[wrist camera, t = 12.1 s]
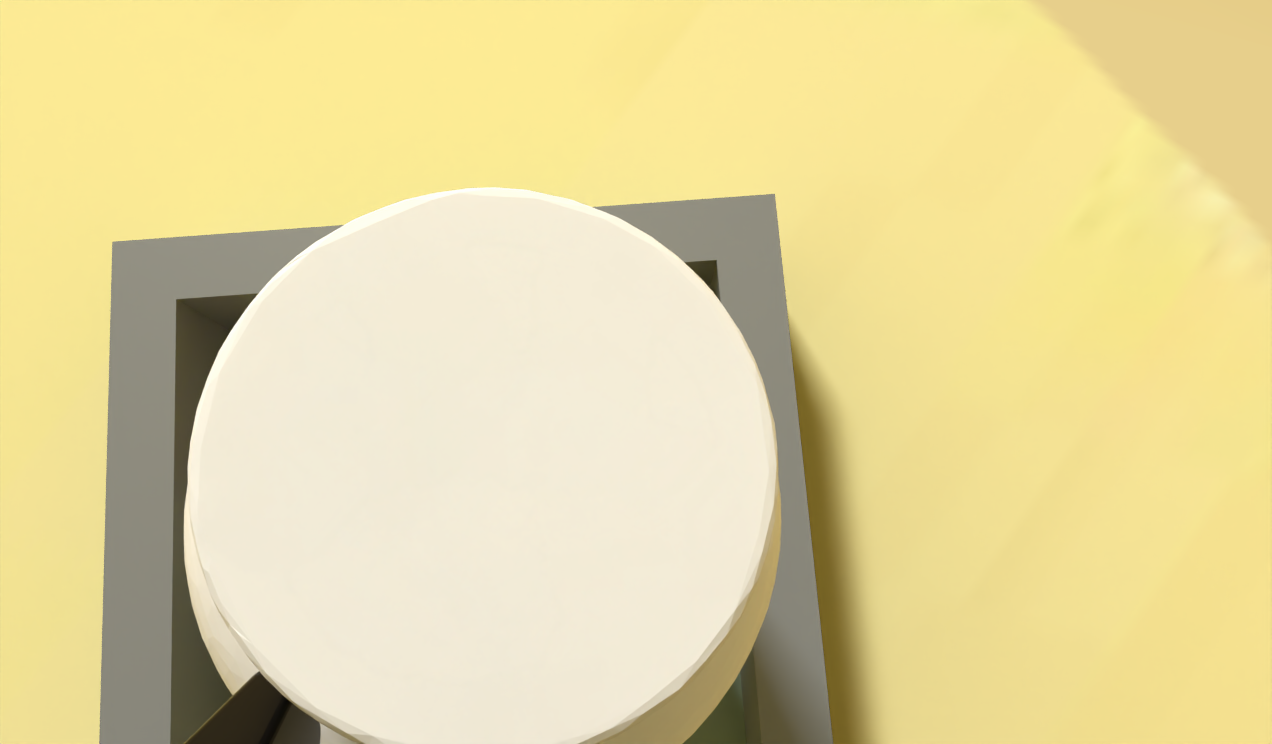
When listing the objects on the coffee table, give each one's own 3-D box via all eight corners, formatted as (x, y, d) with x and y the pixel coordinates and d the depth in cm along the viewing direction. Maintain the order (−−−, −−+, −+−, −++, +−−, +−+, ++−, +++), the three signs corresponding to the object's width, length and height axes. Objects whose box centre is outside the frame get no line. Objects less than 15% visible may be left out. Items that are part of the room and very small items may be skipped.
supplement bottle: (312, 410, 21) (51, 75, 8) (636, 385, 22) (831, 56, 9) (326, 761, 19) (28, 991, 7) (674, 715, 20) (968, 842, 8)
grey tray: (807, 785, 21) (842, 828, 17) (190, 833, 20) (95, 888, 17) (753, 253, 23) (774, 194, 19) (195, 293, 23) (111, 241, 19)
